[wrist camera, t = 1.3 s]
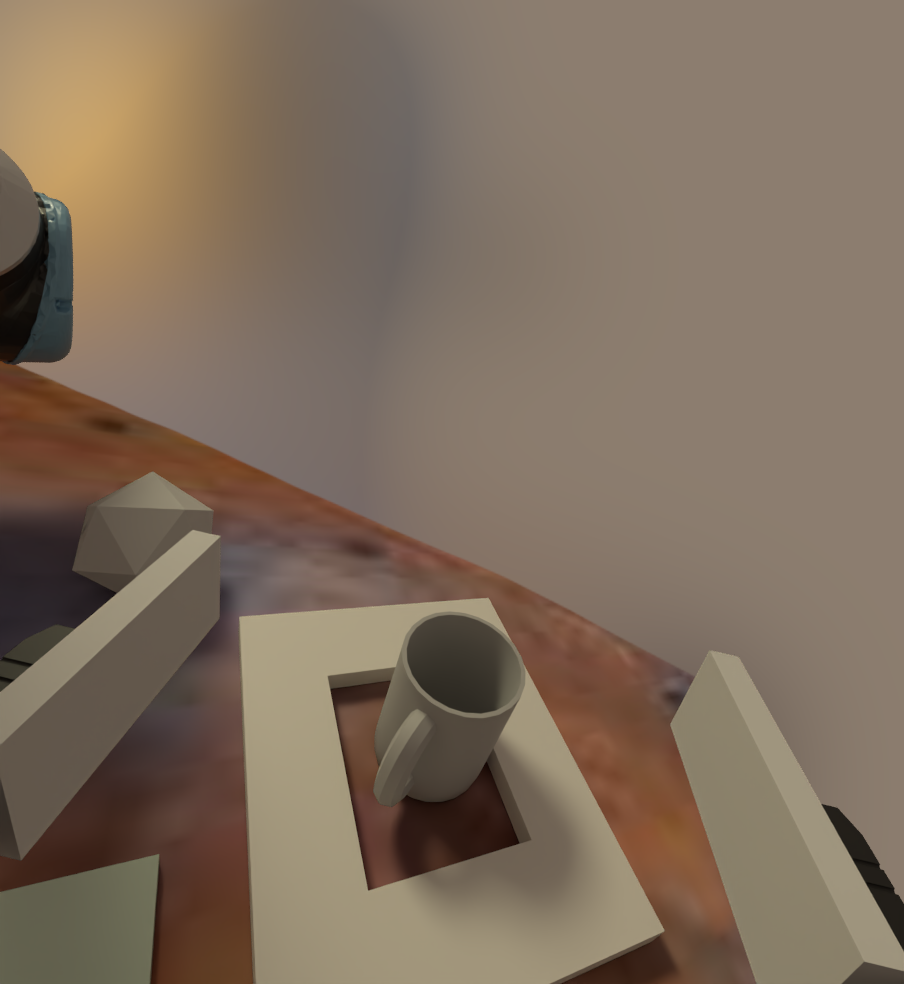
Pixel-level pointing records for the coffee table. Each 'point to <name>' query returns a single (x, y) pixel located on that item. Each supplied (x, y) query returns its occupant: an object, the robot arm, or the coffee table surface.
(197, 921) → the coffee table surface
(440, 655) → the cup
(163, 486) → the die
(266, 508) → the coffee table surface
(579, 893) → the beige flat frame
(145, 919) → the coaster
